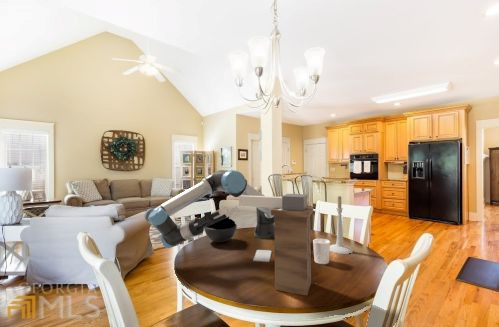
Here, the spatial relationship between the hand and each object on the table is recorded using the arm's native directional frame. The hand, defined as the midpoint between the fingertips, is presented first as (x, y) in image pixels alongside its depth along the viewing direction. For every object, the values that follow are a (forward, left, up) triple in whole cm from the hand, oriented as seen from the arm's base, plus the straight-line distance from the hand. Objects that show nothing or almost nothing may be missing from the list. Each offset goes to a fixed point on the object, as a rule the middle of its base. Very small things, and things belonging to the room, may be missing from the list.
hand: (232, 209), depth 108 cm
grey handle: (+3, +19, +3) cm, 19 cm away
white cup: (-26, +35, -28) cm, 52 cm away
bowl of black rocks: (-37, -26, -28) cm, 53 cm away
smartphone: (-23, +6, -28) cm, 37 cm away
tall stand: (+3, +27, -28) cm, 39 cm away
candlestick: (-46, +43, -28) cm, 69 cm away
